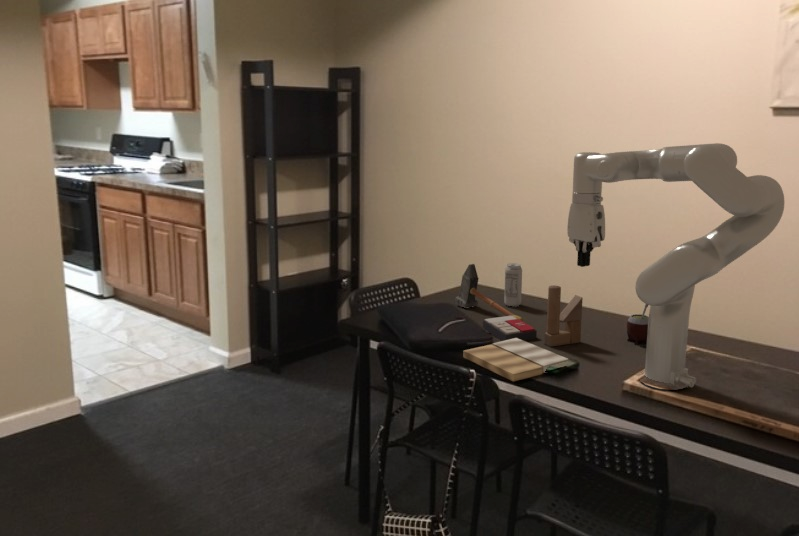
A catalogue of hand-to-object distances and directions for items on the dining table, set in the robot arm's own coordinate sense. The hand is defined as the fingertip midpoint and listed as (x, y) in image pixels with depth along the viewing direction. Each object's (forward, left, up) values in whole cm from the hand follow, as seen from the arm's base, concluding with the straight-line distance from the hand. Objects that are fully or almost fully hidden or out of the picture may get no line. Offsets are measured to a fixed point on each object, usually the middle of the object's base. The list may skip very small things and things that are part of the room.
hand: (583, 265), depth 193 cm
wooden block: (+13, -6, -27) cm, 31 cm away
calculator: (+29, +2, -28) cm, 40 cm away
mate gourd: (+1, -26, -27) cm, 38 cm away
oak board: (+8, +22, -27) cm, 36 cm away
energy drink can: (+54, -21, -27) cm, 64 cm away
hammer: (+50, -7, -28) cm, 57 cm away
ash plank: (+8, +11, -27) cm, 30 cm away
